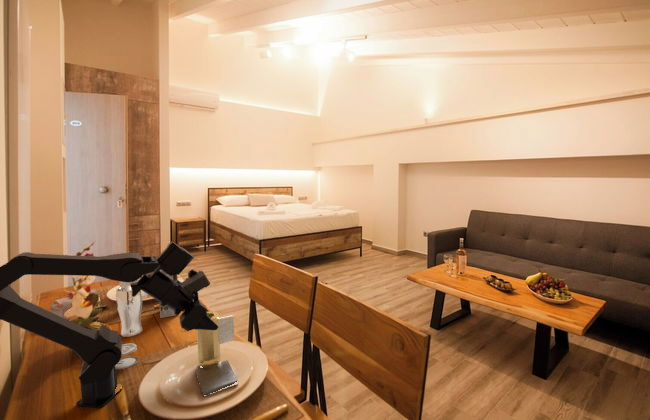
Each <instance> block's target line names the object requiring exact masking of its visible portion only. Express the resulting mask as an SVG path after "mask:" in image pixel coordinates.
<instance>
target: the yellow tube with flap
mask: <svg viewBox="0 0 650 420" xmlns="http://www.w3.org/2000/svg"><path fill="white" fill-rule="evenodd" d="M207 315H208V316H209V317H210V318H211V319H212V320H213V321H214V322H215V323H216V324H217V325H218V328H217V330H200V329H196V337H197V338H196V339H197V341H196V342H197V356H198V357H199V360H202V361H210V360H213V359H215V358H217V357H218V356H219V355H220V354H221V344H225V343H229V342H232V341H235V323H234V320H235V319H234V315H233V314H231V315H226V316H222V317H219V315H220V314H219V313H218V312H217V311H209V312H207ZM199 360H198V361H199Z"/></svg>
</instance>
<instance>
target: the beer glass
mask: <svg viewBox="0 0 650 420" xmlns="http://www.w3.org/2000/svg"><path fill="white" fill-rule="evenodd" d="M142 295H143V294H142V290H140V292H139V293H138V294H137V295H136V296H135V297H133V296H132V289H131V287H130V285H128V286H123V287H120V286H119V287H118V288H117V289H116V295H115V298H116V308H117V313H118V316H119V318H120V323H121V330H120V337H124V338H130V337H134V336H137V335H139V334H140V333H142V332H143V326H142V321H141V318H142V317H141V316H142V307H143V299H142Z"/></svg>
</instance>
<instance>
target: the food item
mask: <svg viewBox="0 0 650 420" xmlns="http://www.w3.org/2000/svg"><path fill="white" fill-rule="evenodd" d="M90 290H91V293H96V294H98V295H99V297H100V302H99V305H100V307H102V306H103V304H102V301H101V295H100V291H97V290H95V289H90ZM72 298H73V294H72V293H71V292H68V294H67V296H65V297H63V298H58V299H56V300H54V302H53V303H52V304H50V305H49V307H50V312H52V313H54V314H56V315H58V316H60V317H62V318H65V319H67V320H70V318H66V317H64V313H65V312H66V311H67V310H68V309H70V308H71V307H72Z"/></svg>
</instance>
